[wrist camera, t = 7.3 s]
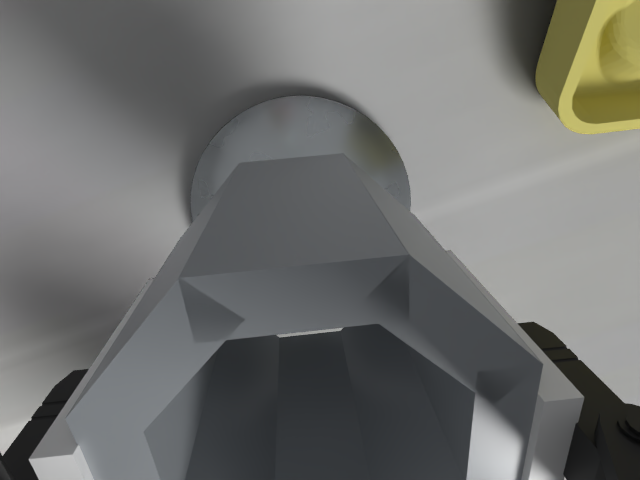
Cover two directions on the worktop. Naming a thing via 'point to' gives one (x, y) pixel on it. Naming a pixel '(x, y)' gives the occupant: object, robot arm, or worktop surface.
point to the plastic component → (592, 65)
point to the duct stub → (299, 144)
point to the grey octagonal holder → (309, 347)
